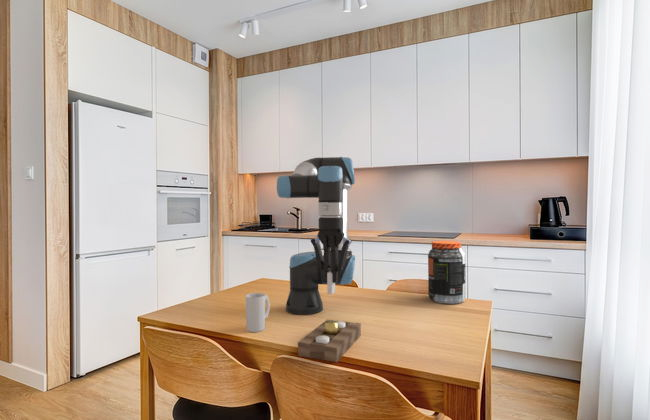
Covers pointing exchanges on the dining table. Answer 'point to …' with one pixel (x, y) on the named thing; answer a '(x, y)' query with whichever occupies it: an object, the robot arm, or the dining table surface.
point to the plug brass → (331, 327)
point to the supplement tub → (446, 272)
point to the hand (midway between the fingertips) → (331, 292)
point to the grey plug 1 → (322, 339)
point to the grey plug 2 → (341, 324)
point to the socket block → (334, 346)
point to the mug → (256, 311)
